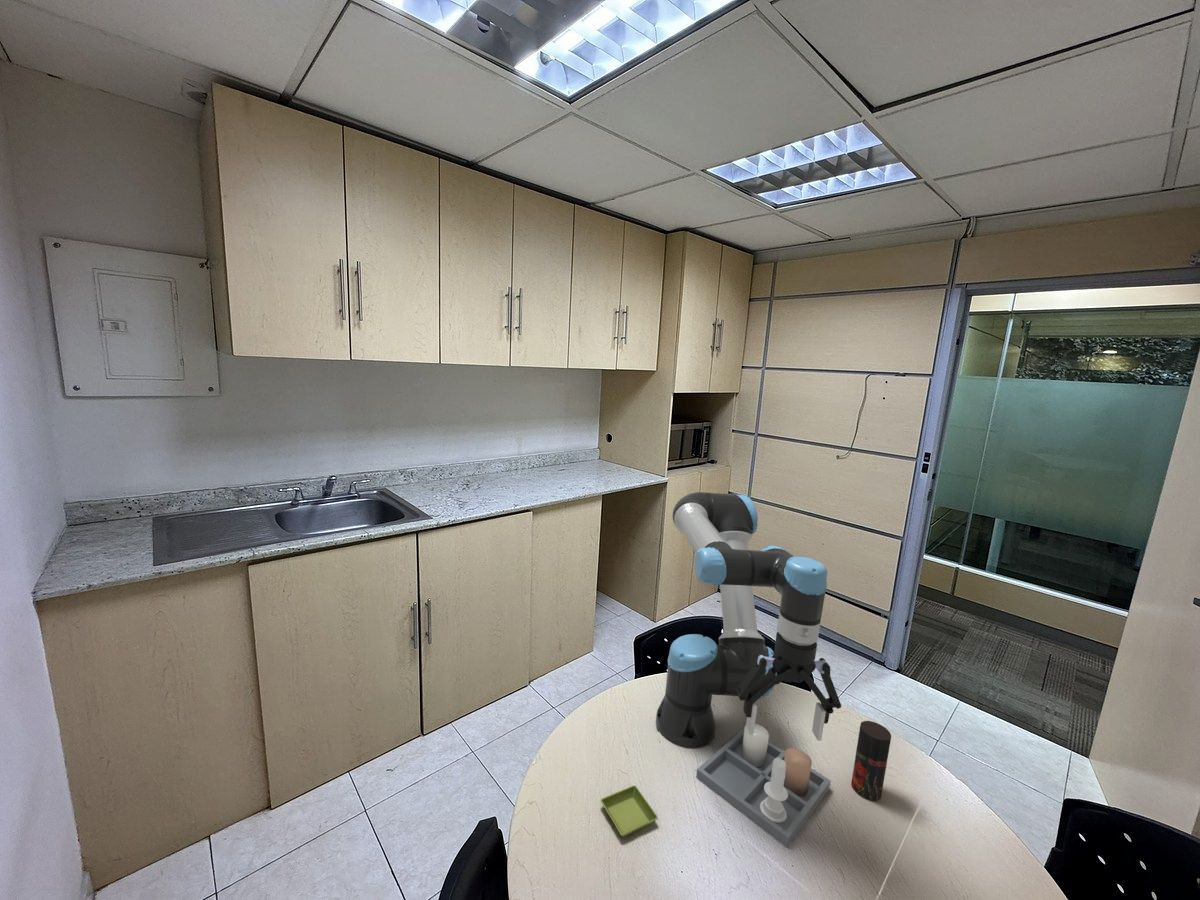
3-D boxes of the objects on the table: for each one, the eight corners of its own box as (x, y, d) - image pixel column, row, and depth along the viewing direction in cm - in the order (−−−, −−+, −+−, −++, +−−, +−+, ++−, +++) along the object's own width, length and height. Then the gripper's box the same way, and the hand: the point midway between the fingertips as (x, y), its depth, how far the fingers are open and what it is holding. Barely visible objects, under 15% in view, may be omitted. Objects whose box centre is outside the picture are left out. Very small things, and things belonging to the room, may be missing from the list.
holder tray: (696, 779, 105) (697, 769, 105) (743, 735, 120) (745, 727, 119) (786, 849, 90) (788, 838, 90) (829, 790, 105) (830, 780, 104)
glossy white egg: (736, 757, 112) (740, 730, 111) (748, 746, 116) (751, 720, 115) (758, 771, 108) (761, 744, 107) (769, 759, 112) (773, 733, 111)
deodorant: (885, 805, 102) (896, 742, 100) (855, 799, 103) (865, 737, 101) (875, 783, 107) (885, 723, 106) (847, 777, 109) (856, 718, 107)
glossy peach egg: (776, 784, 105) (780, 756, 104) (787, 771, 109) (791, 744, 108) (801, 801, 101) (805, 771, 100) (811, 787, 105) (815, 759, 104)
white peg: (756, 799, 100) (762, 748, 99) (781, 801, 100) (788, 750, 99) (764, 822, 95) (771, 769, 94) (790, 824, 95) (798, 771, 94)
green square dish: (620, 845, 89) (621, 835, 89) (598, 807, 97) (599, 799, 96) (658, 827, 93) (658, 818, 93) (634, 793, 101) (635, 784, 101)
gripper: (738, 641, 89) (726, 741, 92) (870, 652, 89) (853, 752, 92) (729, 621, 97) (717, 714, 100) (850, 631, 96) (835, 724, 99)
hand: (783, 733), depth 96 cm, fingers open, 13 cm apart
